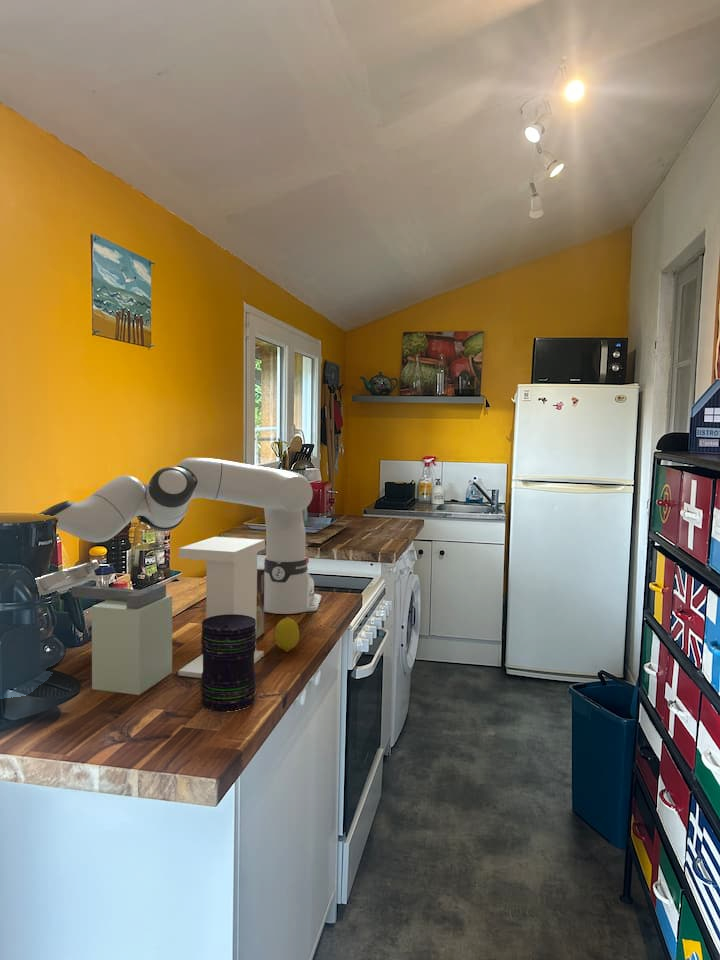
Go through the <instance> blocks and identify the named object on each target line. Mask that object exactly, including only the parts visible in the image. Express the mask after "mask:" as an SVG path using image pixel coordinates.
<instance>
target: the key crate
mask: <svg viewBox="0 0 720 960" xmlns="http://www.w3.org/2000/svg"><path fill="white" fill-rule="evenodd" d="M172 673H173V595H168V594H166V597H164V598H161V599H159V600H157V601H155V602H153V603H150V604H148V605H146V606H144V607H142V608H139V609H132V608H127V602H124V601H113V600H103V601H102V602H99V603H97V604H94V605H92V606H91V690H97V691H103V692H112V693H120V694H128V695H133V696H134V695H136V696H140V695H142V694H143V693H144V692H146V691H147V690H149V689H151V688H152V687H153V686H155V685H157V683H159V682H160V681H162V680H164V679H165V678H166V677H168V676H169V675H171V674H172Z"/></svg>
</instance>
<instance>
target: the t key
mask: <svg viewBox="0 0 720 960" xmlns="http://www.w3.org/2000/svg"><path fill="white" fill-rule="evenodd" d="M166 595H167V584H161V583H160V584H159V583H154V584H152V585H149V586H147V587H144V588H142V589H133V588H122V587H110V586H109V587H108V586H98V585H88V584H87V585H86V584H85V585H84V584H82V585H76V586H73V587H72V590H71V597H72V598H81V599H92V600H103V601H106V600H113V601H124V602H127V608H132V609H139V608H142V607H144V606H146V605H148V604H150V603H153V602H155V601H157V600H159V599H161V598H164V597H166Z"/></svg>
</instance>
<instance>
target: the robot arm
mask: <svg viewBox="0 0 720 960" xmlns="http://www.w3.org/2000/svg"><path fill="white" fill-rule="evenodd" d="M313 492H314V491H313V487H312V484H311V483H310V482H309V480H308V479H307V478H306V476H304V475H302V474H300V473H298V472H295V471H290V470H286V469H277V468H271V467H264V466H260V465H254V464H249V463H244V462H243V463H242V462H239V461H238V462H236V461H231V460H226V459H225V460H224V459H219V458H211V457H187V458H184V459H182V460H181V461H180V462H179V463H178V465H175V466H167V467H162V468H161V469H159V470H157V471H156V472H155V473H154V474H153V475H152V477H151V478H150V480H149V483H144V482H142V481H140V479H138V478H136V477H135V476H132V475H129V474H125V475H124V474H122V475H120V476H118V477H116V478H113V479H112V480H110V481H109V482H107V483H106V484H105V485H102V486H101V487H100V488H99V489H97V490H96V491H95V492H93V493H92V494H91V495H90V496H88V498H86V499H84V500H81V501H78V502H73V501H71V500H65V501H61V502H59V503H57V504H54V505H52V506H50V507H48V508H47V509H45V510H43V511H41V512H39V513H38V514H44V515H50V516H55V517H57V518H58V524H57V529H56V530H60V531H63V532H65V533H67V534H70V535H71V536H73V537H75V538H77V539H79V540H82V541H85V542H90V543H104V542H107V541H109V540H111V539H113V538H114V537H116V536H117V535H118V534H119V533H120V532H122V530H124V528H125V527H126V526H127V525H128V524H129V523H130V522H132V521H133V520H134V519H135V518H137V520H138V521H139V522H140V523H143V524H145V525H147V526H149V527H150V528H152V529H154V530H156V531H158V532H169V531H172V530H174V529H175V528H177V527H178V526H179V525H180V524H181V523H182V522H183V520H184V518H185V515H186V514H187V512H188V510H189V508H190V504H191V503H190V501H191V500H194V499H200V498H201V499H207V500H212V501H213V500H214V501H220V502H225V503H226V502H227V503H232V504H241V505H246V506H251V507H257V508H262V509H263V510H264V520H265V529H266V533H265V534H266V536H265V538H266V539H265V558H264V562H263V567H264V568H263V569H265V570H264V613H269V614H277V615H278V614H281V615H289V614H290V615H292V614H299V613H300V614H301V613H306V612H315V611H318V608H319V606H320V604H319V603H321V601H322V595H321V594H319V593H318V594H317V593H315V580H314V579H313V578H312V576H311V575H310V573H309V572H308V570H309V569H308V568H309V567H308V565H309V562H310V561H309V556H306V536H307V533H306V527H305V524H304V517H303V510H305V509H306V508H308V507H309V505H310V504H311V502H312V500H313V497H314V495H313V494H314V493H313ZM99 568H100V564H99V561H98V560H97V559H94V560H93V559H92V560H91V561H88V562H86V563H82V564H79V565H75V566H72V567H69V568H63V569H60V570H58V571H55V572H51V573H47V574H45V575H42V576H41V577H37V578H35V580H36V584H37V587H38V592H39V595H46V594H49V593H52V592H55V591H57V592H59V593H60V594H59V595H63V594H65V593H67V591H68V590H69V589H70V588H71V589H72V587H73V586H76V585H84V584H85V583H88V582H89V581H92V580H93V579H94V578H95V577H96V573H95V570H97V569H99ZM68 592H69V591H68Z"/></svg>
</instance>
